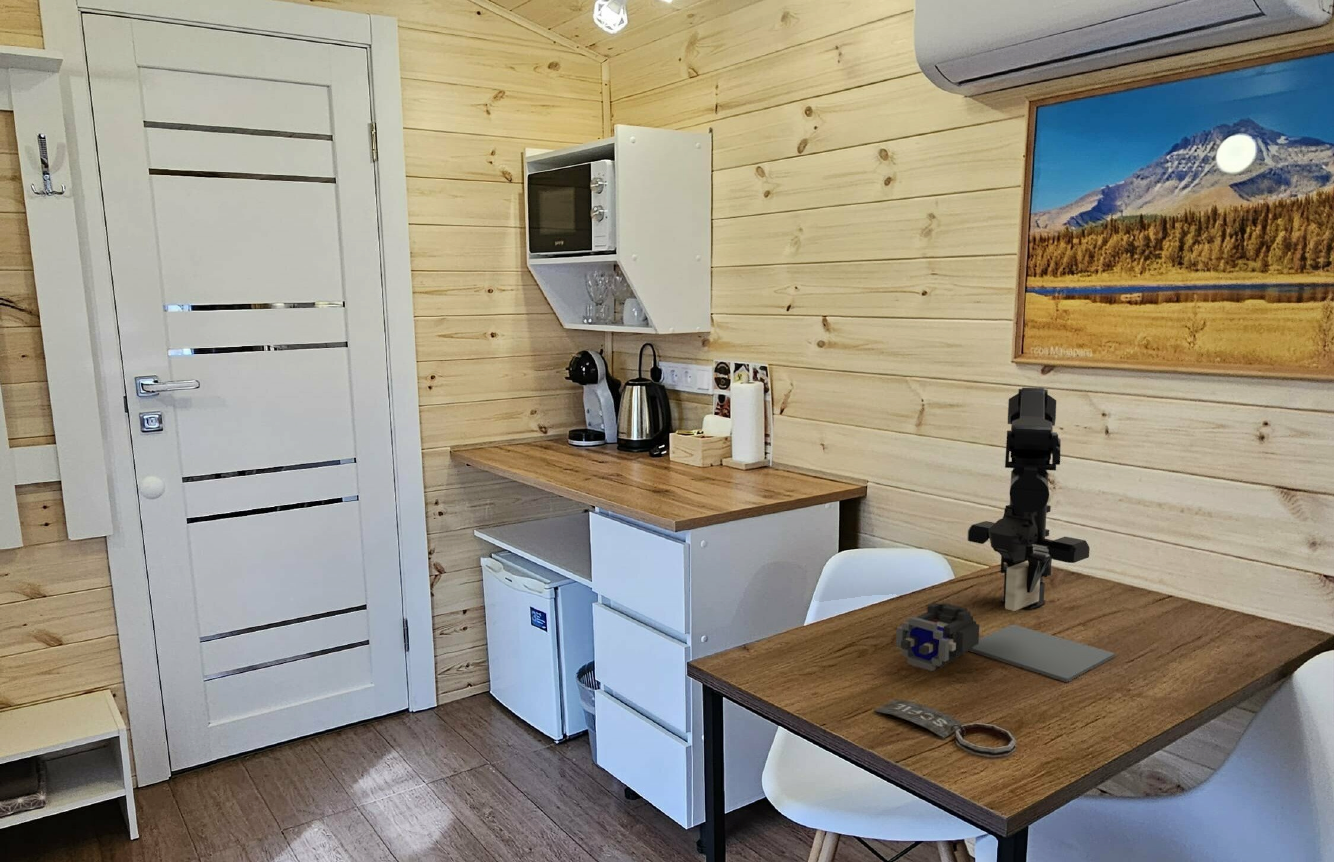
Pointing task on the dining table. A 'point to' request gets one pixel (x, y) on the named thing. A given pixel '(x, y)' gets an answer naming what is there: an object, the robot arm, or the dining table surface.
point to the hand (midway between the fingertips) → (1023, 590)
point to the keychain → (949, 727)
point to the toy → (937, 636)
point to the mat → (1041, 652)
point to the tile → (1019, 588)
